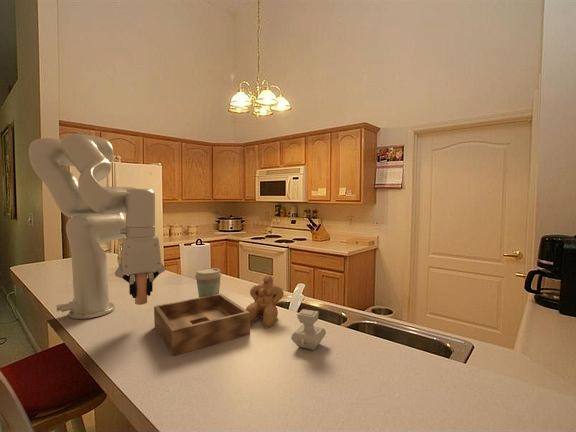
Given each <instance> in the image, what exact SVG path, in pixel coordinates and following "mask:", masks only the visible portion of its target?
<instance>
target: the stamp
mask: <svg viewBox="0 0 576 432" xmlns="http://www.w3.org/2000/svg"><path fill="white" fill-rule="evenodd" d="M296 316H297V320H298V321H299V323H300V324H302V325H301V326H299V327H298V329H296V330H295V331H294V332H293V333H292V335H291V338H290V339H291V341H292V342H293V343H294V344H295V345H296V347H299V348H304V349H308V350H312V351H315V349H316V348H317V347H318V346H319V345H320V344H321V342H322V341H323V339H324V338H325V335H326V334H327V331H326V329H325V328H323V327H320V326H319V327H318V326H315V325H314V324H315V323H316V322H317V321H318V320H319V310H312V309H306V308H304V309H303V308H302V309H301V310H300V311H299V312H298V313H297V314H296Z"/></svg>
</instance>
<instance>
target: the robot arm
mask: <svg viewBox="0 0 576 432" xmlns="http://www.w3.org/2000/svg"><path fill="white" fill-rule="evenodd" d="M113 156H114V148H113V145H112V144H111V142H110V141H109V140H107V139H106V138H104V137H101V136H95V135H89V134H83V133H82V134H81V133H70V134H67V135H65V136H64V137H63V138H62V139H61V138H52V137H51V138H50V137H43V138H37V139H34V140H33V141H32V142H31V143H30V145H29V147H28V158H29V163H30V165H31V167H32V169H33V171H34V172H35V174H36V175H37V176H38V177H39V179H40V180H41V181H42V182H43V183H44V185H45V186H46V187H47V189H48V191H49V193H50V194H51V197H52V198H53V200H54V202H55V203H56V205H57V208H58V209H59V210H60V212H61V213H62V214H63V215H64V216H65V217H68V218H69V219H68V220H67V222H66V224H65V232H66V237H67V239H68V242H69V248H70V254H71V255H70V257H71V271H72V287H73V291H72V292H73V298H72V301H68V303H59V304H57V305H56V311H57V312H60V311H61V313H63V312H67V311H69V312H68V317H69V318H71V319H73V320H74V319H75V320H85V319H92V318H97V317H98V318H99V317H102V316H105V315H107V314H109V313H110V314H111V312H113V311H114V310H115V308H116V307H115V304H114V303H113V302H110V299H109V298H110V296H109V294H110V293H109V272H108V270H109V269H108V258H107V257H108V256H107V253H106V251H105V250H104V249H103V247H102V246H101V245H100V244H101V243H105V242H112V241H117V240H121V239H122V238H123V239H122V244H121V249H120V251H121V252H120V263H119V265H118V267H117V269H116V270H115V271H114V275H115V277H117V278H120V279H123V280H124V281H126V282H127V283H128V284H129V285H128V286H129V293H128V294H129V296H130V295H131V296H132V299H135V297H136V284H135V274H141V273H147V297H151V294H152V292H153V282H155V279H156V278H157V277H158V276H159V275H161V274H162V273H164V272H165V271H166V268H165V266H164V264H163V263H162V255H161V254H162V253H161V244H160V239H159V236H157V235H156V194H155V191H154V190H153V189H150V188H136V187H129V186H127V187H126V186H103V185H101V184H100V183H99V182H100V181H102V180H104V179H106V177H108V176H109V174H110V173H111V171H112V164H111V163H110V161H111V160H112V159H113ZM63 166H67V167H75V168H76V170H77V171H78V172H79V173H80V175H79V177H78V179H77V178H76V176H75V175H74V174H73V173H72V172H71V171H70V170H68V169H66V168H65V167H63ZM123 214H125V216H124V215H123Z"/></svg>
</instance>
